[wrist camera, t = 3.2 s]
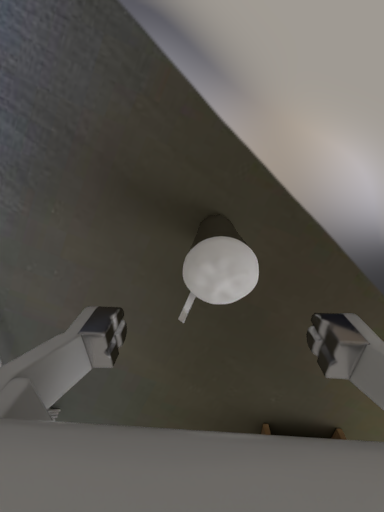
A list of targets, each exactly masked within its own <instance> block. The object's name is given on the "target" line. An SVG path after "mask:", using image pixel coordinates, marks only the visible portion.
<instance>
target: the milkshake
mask: <svg viewBox="0 0 384 512" xmlns="http://www.w3.org/2000/svg"><path fill="white" fill-rule="evenodd" d="M258 277H259V266H258V260H257V258H256V256H255V254H254V252H253V251H252V250H251V249H250V247H249V246H248V245H247V244H246V242H245V241H244V240H243V239H242V237H241V236H240V235H239V233H238V232H237V230H236V229H235V227H234V226H233V224H232V223H231V221H230V220H229V219H227V218H225V217H224V216H222V215H220V214H217V215H209V216H207V217H206V218H205V219H204V220H203V221H202V222H201V223H200V225H199V228H198V230H197V233H196V236H195V238H194V241H193V243H192V245H191V248H190V250H189V252H188V254H187V256H186V258H185V260H184V265H183V279H184V282H185V284H186V286H187V287H188V289H189V290H190V291H191V292H190V294H189V296H188V298H187V301H186V303H185V305H184V307H183V309H182V311H181V313H180V316H179V318H178V319H179V320H180V321H181V322H182V323H184V322H185V320H186V318H187V315H188V313H189V311H190V309H191V306H192V304H193V302H194V299H195V297H198V298H200V299H201V300H203V301H205V302H208V303H211V304H228V303H232V302H235V301H237V300H239V299H241V298H242V297H244V296H246V295H247V294H249V293H250V292H251V291H252V290H253V289H254V287H255V286H256V284H257V281H258Z"/></svg>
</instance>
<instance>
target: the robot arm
mask: <svg viewBox="0 0 384 512" xmlns="http://www.w3.org/2000/svg"><path fill="white" fill-rule="evenodd" d="M123 316H124V311H123V309H122V308H120V307H101V306H99V307H97V306H88V307H86V308H85V309H84V310H83V311H82V312H81V313H80V315H79V316H78V317H77V318H76V320H75V321H74V322H73V323H72V324H71V326H70V327H69V328H68V329H67V331H66V332H65V333H64V334H59V335H57V336H55V337H53V338H52V339H50V340H48V341H46V342H44V343H43V344H41V345H39V346H37V347H36V348H34V349H32V350H30V351H28V352H27V353H25V354H23V355H21V356H19V357H18V358H16V359H14V360H12V361H11V362H9V363H7V364H5V365H3V366H2V367H0V512H384V442H375V441H359V440H343V439H327V438H312V437H296V436H280V435H264V434H249V433H233V432H217V431H200V430H184V429H168V428H152V427H137V426H121V425H105V424H89V423H73V422H57V421H53V419H52V418H51V416H50V414H49V412H48V410H47V409H48V408H50V407H51V406H52V405H53V404H54V403H55V402H56V401H57V400H58V399H59V398H61V397H62V396H63V395H64V394H65V393H66V392H67V391H68V390H69V389H70V388H71V387H73V386H74V385H75V384H76V383H77V382H78V381H79V380H80V379H81V378H82V377H84V376H85V375H86V374H87V373H88V372H89V371H90V370H91V369H92V367H95V368H113V366H114V364H115V361H116V359H117V357H118V355H119V351H118V348H119V347H121V346H122V345H123V343H124V341H125V338H126V333H127V326H126V322H125V321H124V320H123V319H122V318H123ZM311 322H312V323H313V325H312V326H311V327H309V328H308V331H307V343H308V346H309V348H310V350H311V352H312V353H314V354H315V355H316V356H318V360H317V363H318V364H319V366H320V368H321V370H322V372H323V373H324V375H325V377H326V378H338V379H350V380H349V381H351V382H352V383H353V384H354V385H355V386H356V387H357V388H359V389H360V390H361V391H362V392H363V393H364V394H365V395H367V396H368V397H369V398H370V399H371V400H372V401H373V402H375V403H376V404H377V405H378V406H379V407H380V408H381V409H383V410H384V342H383V341H382V340H381V339H380V338H379V337H378V336H377V335H376V334H375V333H374V332H373V331H372V330H371V329H370V328H369V327H368V326H367V325H366V324H365V323H364V322H363V321H362V320H361V319H360V318H359V317H358V316H357V315H356V314H354V313H340V314H338V313H314V314H313V315H312V318H311Z"/></svg>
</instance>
